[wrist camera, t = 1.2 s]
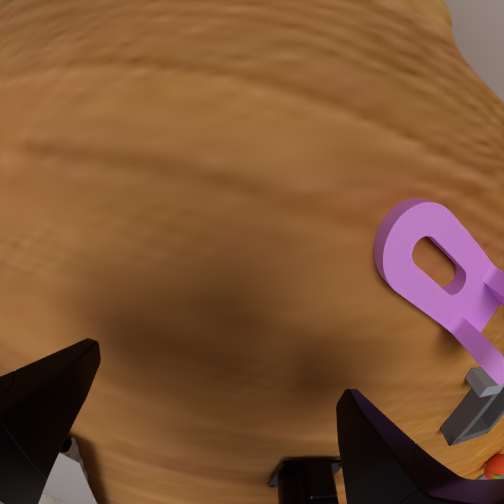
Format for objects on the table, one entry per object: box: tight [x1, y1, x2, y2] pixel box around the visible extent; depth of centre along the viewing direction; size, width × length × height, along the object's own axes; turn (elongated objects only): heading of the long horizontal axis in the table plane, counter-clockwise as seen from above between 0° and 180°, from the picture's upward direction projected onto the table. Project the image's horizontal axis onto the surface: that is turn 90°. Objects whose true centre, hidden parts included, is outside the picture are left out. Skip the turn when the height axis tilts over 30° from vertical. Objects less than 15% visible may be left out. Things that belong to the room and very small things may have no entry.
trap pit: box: [440, 387, 504, 446], centre depth 19 cm, size 8×8×3 cm
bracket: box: [374, 198, 504, 386], centre depth 12 cm, size 13×6×7 cm, turn 59°
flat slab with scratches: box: [42, 437, 97, 504], centre depth 25 cm, size 45×24×6 cm, turn 161°
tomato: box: [484, 454, 504, 479], centre depth 27 cm, size 8×7×7 cm
